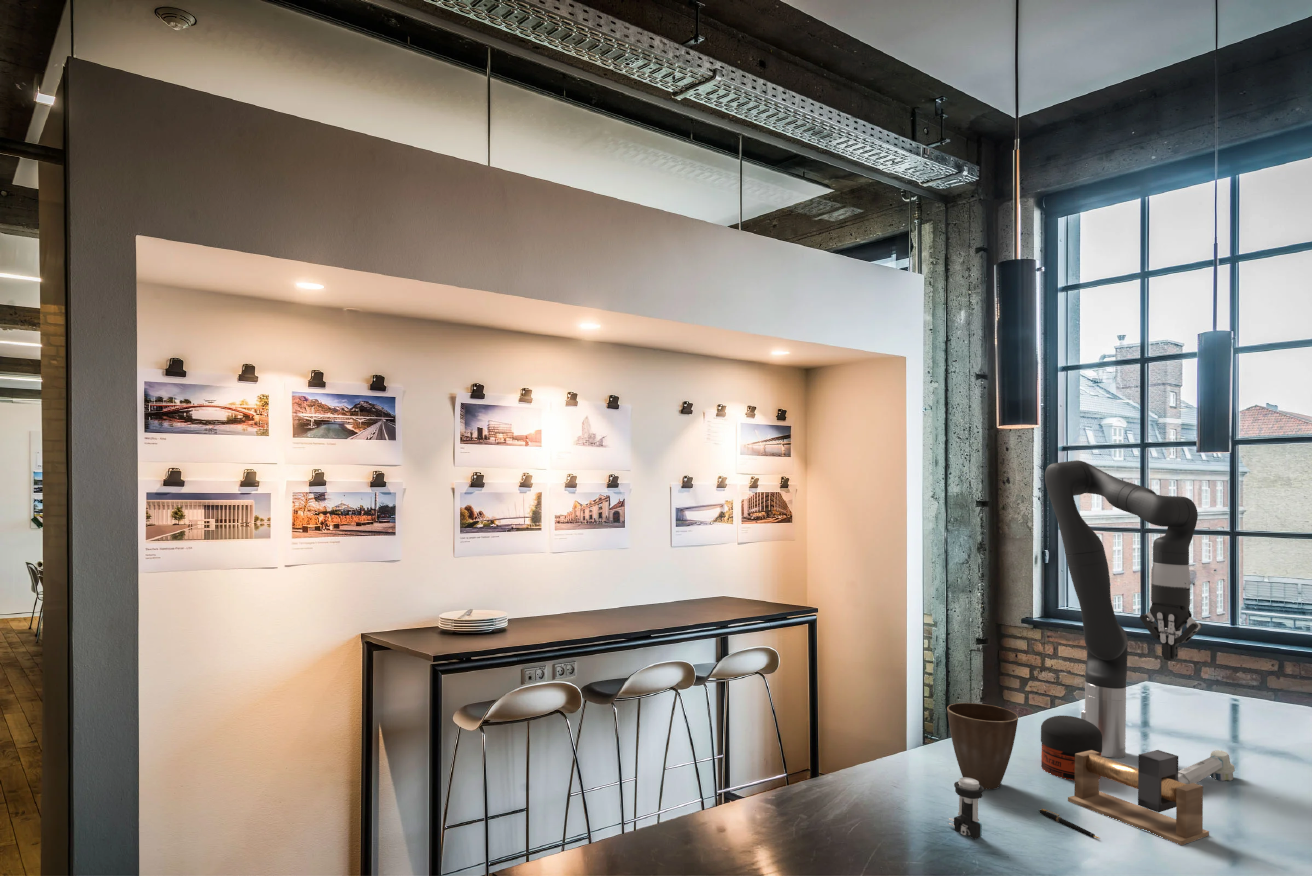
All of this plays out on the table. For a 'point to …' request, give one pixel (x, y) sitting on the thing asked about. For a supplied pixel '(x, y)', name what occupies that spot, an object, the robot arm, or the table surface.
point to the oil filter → (1067, 743)
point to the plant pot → (982, 740)
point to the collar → (1155, 779)
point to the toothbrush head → (1208, 769)
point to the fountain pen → (1066, 823)
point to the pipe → (1127, 775)
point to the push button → (968, 807)
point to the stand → (1175, 830)
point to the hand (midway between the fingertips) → (1169, 660)
